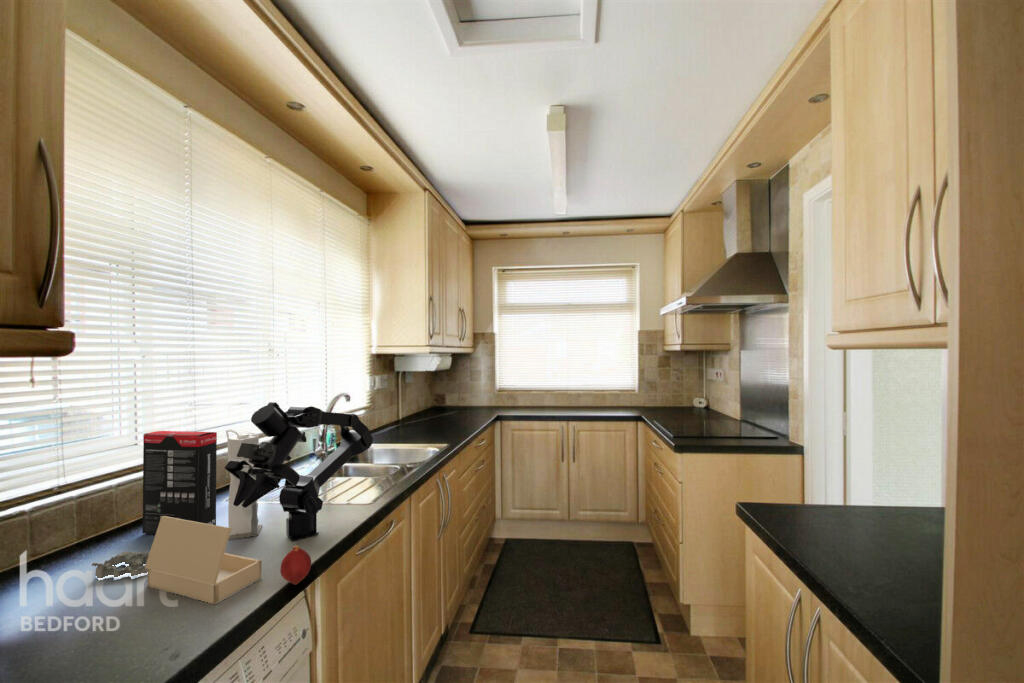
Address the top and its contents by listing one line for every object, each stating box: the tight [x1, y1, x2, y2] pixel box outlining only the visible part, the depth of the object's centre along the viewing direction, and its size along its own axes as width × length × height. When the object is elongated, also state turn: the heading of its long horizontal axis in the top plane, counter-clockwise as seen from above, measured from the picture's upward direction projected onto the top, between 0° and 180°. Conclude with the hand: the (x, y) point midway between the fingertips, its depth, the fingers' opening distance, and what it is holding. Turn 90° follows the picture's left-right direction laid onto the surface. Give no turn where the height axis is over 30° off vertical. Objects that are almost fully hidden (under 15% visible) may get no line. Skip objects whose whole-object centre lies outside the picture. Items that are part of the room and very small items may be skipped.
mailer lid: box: [145, 516, 231, 585], centre depth 88 cm, size 10×20×1 cm
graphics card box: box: [142, 430, 218, 535], centre depth 118 cm, size 17×7×27 cm, turn 84°
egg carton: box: [91, 550, 150, 578], centre depth 96 cm, size 11×8×4 cm
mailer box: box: [147, 552, 262, 605], centre depth 92 cm, size 10×20×4 cm, turn 70°
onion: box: [280, 545, 312, 585], centre depth 91 cm, size 6×6×8 cm
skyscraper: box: [225, 429, 263, 541], centre depth 118 cm, size 8×8×28 cm
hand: (239, 506), depth 99 cm, fingers open, 2 cm apart
